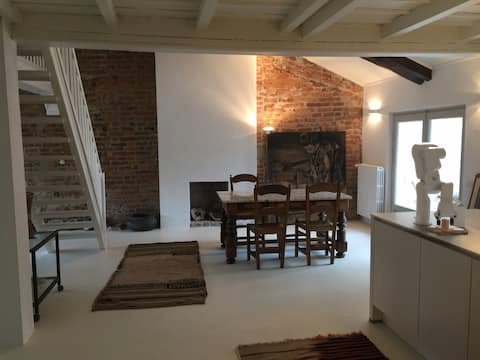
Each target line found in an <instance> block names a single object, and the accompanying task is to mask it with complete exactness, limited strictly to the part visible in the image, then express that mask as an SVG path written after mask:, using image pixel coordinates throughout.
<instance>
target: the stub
mask: <svg viewBox="0 0 480 360" xmlns="http://www.w3.org/2000/svg"><path fill="white" fill-rule="evenodd" d="M449 226H450V219H447V218H441V226H438V225H436V226H435V227H434V228H437V229H440V230H442V231H445V232H455V230H453V229H450V228H449Z"/></svg>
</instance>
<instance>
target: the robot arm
mask: <svg viewBox="0 0 480 360" xmlns="http://www.w3.org/2000/svg"><path fill="white" fill-rule="evenodd" d="M410 151H411V156H412V159H413V162H414V169H415V175H416V178H417V180H421V181H418V182H417V183H416V184H415V192H416V202H415V203H416V206H415V216H414V217H413V219H414V220H413V222H412V223H413V224H415V225H420V226H431V225H432V221H430V220H431V203H432V202H431V198H430V196H429V195H436V194H437V195H438V194H439V195H440V196H439V197H440V198H439V201H438V204H437V209H436V212H433V216H434V218H435V220H436V226H441V221H442V219H443V218H449V226H450V225H454V219H455V218H456V216H457V214H458V213H457V212H455V211H454V204H453V203H454V200H455V199H454V182H452V181H448V180H443V179H441V177H440V176H441V175H440V171H439V170H441V168H442V163H441V160H443V159H445V158H446V156H447V151H446V149H445V148H444V147H443V146H441V145H440V144H438V143H435V142H418V143H414V144H413V145H412V147H411V150H410ZM450 218H451V219H450Z"/></svg>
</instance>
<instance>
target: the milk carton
mask: <svg viewBox="0 0 480 360" xmlns="http://www.w3.org/2000/svg"><path fill="white" fill-rule="evenodd" d="M453 204H454V211H455V212H457V213H458V214H457V216H456V218H455V219H454V225H450V224H449V226H455V227H458V228H466V211H467V207H466V206H465V204H463V203H462V200H458V199H455V201H453ZM450 219H451V218H450V217H449V220H450Z"/></svg>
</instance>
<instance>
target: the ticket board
mask: <svg viewBox="0 0 480 360" xmlns="http://www.w3.org/2000/svg"><path fill="white" fill-rule="evenodd" d="M449 228H450V229H453V230H455V232H445V231H442V230H440V229H437V228H435V227H425V231H426V232H427V231H428V232H429V233H433V234H435V235H438V236H459V235H460V234H461V235H462V234H463V235H469V232H468V231H466V230H465V229H464V228H462V227H455V226H450V225H449ZM463 235H462V236H463Z"/></svg>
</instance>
